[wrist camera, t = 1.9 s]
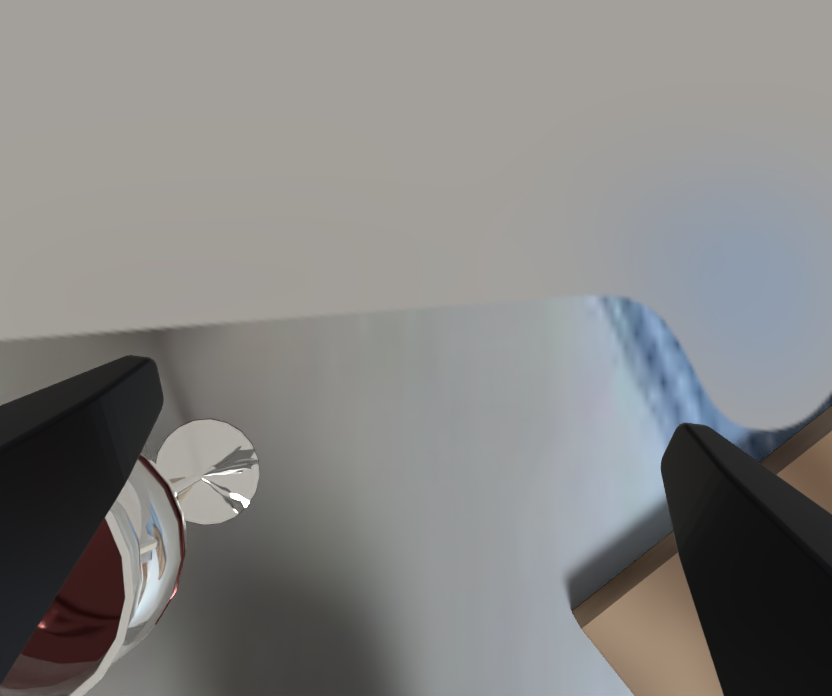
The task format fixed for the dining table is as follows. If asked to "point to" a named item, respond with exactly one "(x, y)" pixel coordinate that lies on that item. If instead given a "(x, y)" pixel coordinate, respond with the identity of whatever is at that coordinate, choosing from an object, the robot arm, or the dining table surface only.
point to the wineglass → (135, 559)
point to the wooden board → (685, 591)
